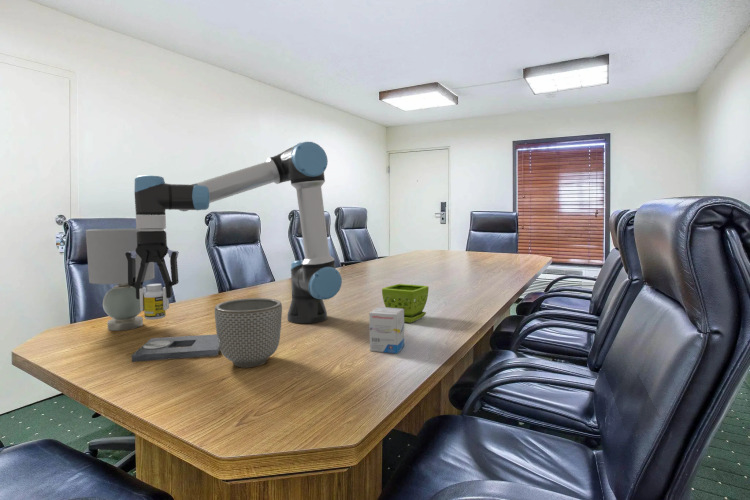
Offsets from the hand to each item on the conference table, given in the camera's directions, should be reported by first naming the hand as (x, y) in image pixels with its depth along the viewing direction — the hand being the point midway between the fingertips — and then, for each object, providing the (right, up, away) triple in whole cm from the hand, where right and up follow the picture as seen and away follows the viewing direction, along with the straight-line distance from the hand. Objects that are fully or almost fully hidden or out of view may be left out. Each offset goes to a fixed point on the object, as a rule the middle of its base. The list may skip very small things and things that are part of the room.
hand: (154, 309), depth 117 cm
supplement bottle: (0, -3, 0) cm, 3 cm away
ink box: (+68, -12, +3) cm, 69 cm away
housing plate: (+7, -12, +2) cm, 14 cm away
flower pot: (+76, -10, +37) cm, 85 cm away
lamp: (-26, -11, +28) cm, 40 cm away
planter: (+30, -13, -8) cm, 34 cm away
